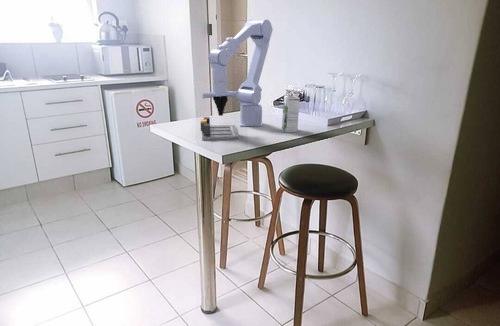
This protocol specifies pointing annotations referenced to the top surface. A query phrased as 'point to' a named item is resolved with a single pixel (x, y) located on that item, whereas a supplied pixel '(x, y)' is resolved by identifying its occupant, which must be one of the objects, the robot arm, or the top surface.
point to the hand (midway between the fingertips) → (220, 115)
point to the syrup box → (290, 113)
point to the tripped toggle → (203, 121)
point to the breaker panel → (219, 132)
